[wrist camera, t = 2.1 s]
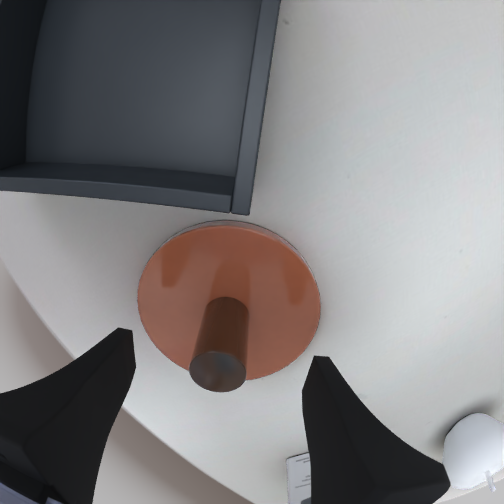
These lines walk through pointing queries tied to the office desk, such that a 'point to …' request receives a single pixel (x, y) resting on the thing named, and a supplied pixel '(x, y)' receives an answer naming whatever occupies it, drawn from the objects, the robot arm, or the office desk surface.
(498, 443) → the plain white apple
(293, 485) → the ink box
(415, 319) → the office desk surface
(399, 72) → the office desk surface
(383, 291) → the office desk surface
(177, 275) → the knobbed copper disc
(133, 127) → the charcoal square tray
